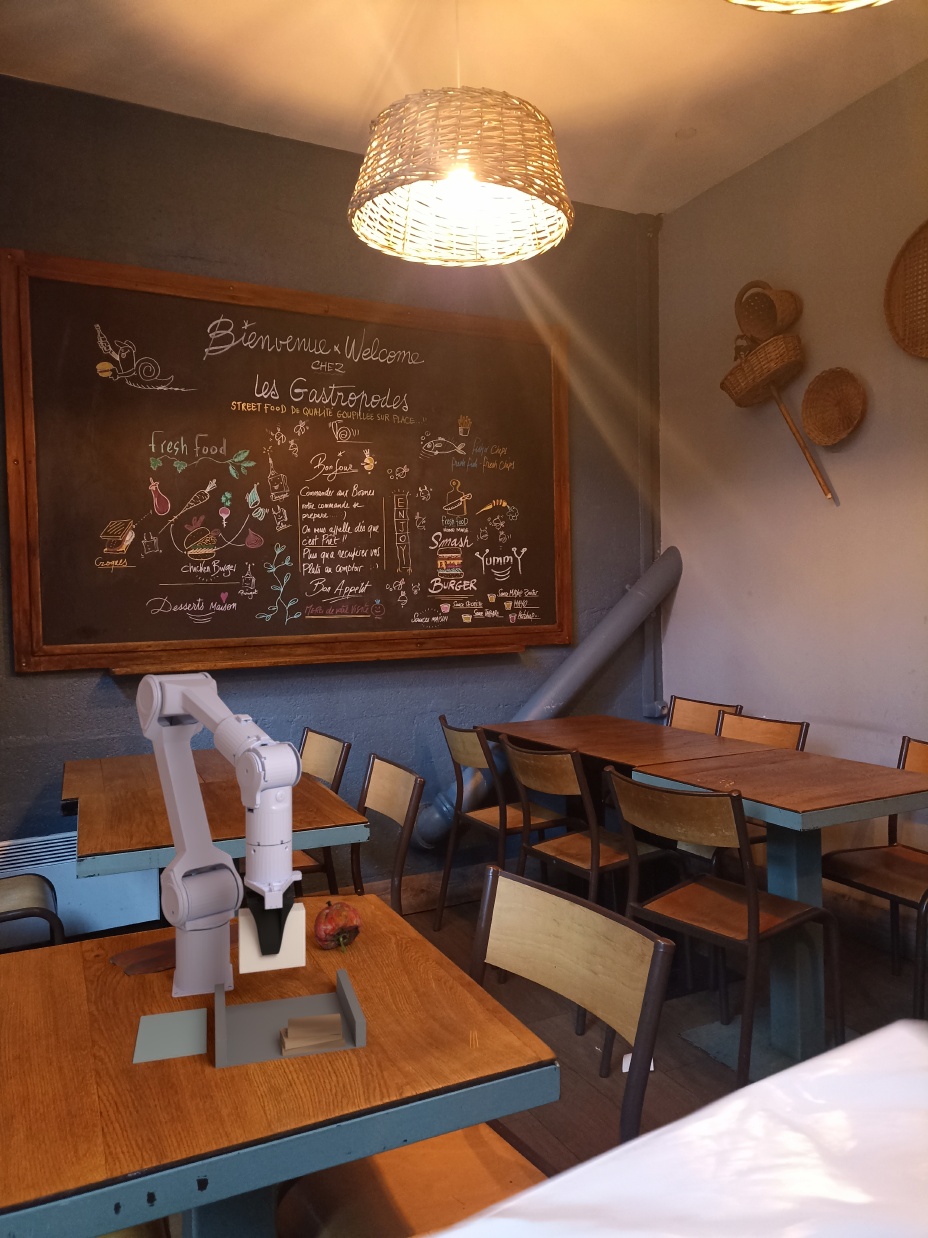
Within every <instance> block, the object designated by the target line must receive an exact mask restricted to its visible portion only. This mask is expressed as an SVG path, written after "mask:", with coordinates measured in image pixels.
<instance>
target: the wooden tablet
mask: <svg viewBox="0 0 928 1238" xmlns="http://www.w3.org/2000/svg"><path fill="white" fill-rule="evenodd" d="M236 948H239V922H238V923H234V924H230V951H231V950H233V949H236ZM109 963H111V964H112V965H114V966H117V967H123V968H122V972H123V973H125V974H126V976H128V977H131V976H138V975H146V974H155V973H159V972H162V971H166V970H169V969H172V968H176V936H175V937H171V938H169V939H164V940H160V941H156V942H152V943H150V944H144V945H141V946H138V947H135V948H131V949H127V950H125V951H122V952H118V953H116V954H114V955H111V957H110V959H109Z"/></svg>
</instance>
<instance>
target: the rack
mask: <svg viewBox="0 0 928 1238" xmlns="http://www.w3.org/2000/svg"><path fill="white" fill-rule="evenodd" d="M335 972H336V977H335V978H336V991H334V992H328V993H318V994H311V995H303V996H296V997H295V996H294V997H289V998H281V999H271V1000H265V1001H264V1000H263V1001H257V1002H250V1003H242V1004H233V1005H226V994H225V993H226V991H225V989H224V983H223V984H215V992H214V1044H215V1045H214V1047H215V1048H214V1049H215V1051H214V1052H215V1055H214V1057H215V1069H223V1068H230V1067H237V1066H242V1065H250V1064H256V1063H262V1062H263V1063H264V1062H270V1061H277V1060H284V1059H290V1058H298V1057H303V1056H304V1057H305V1056H310V1055H318V1054H325V1053H330V1052H331V1053H332V1052H337V1051H344V1050H351V1049H359V1048H364V1047H367V1019H366V1017H365V1014H364V1013H363V1009H362V1006H361V1005H360V1002H359V999H358V997H357V995H356V992H355V990H354V987H353V985H352V982H351V980H350V977H349V974H348V972H347V969H346V968H339V969H336V970H335ZM332 1014H340V1017H341V1024H342V1032H343V1035H344V1038H345V1047H342V1048H335V1049H329V1050H322V1051H315V1052H308V1053H301V1054H294V1055H288V1056H282V1050H281V1044H280V1029H284V1028H288V1019H290V1018H300V1017H311V1016H321V1015H332Z"/></svg>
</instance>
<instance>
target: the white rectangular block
mask: <svg viewBox="0 0 928 1238" xmlns="http://www.w3.org/2000/svg"><path fill="white" fill-rule="evenodd" d="M238 923H239V947H238V971H239V974H249V973H257V972H266V971H273V970H280V969H289V968H298V967H306V908H305V906H304V903H303V902H298V903H297V902H294V904H293V907H292V909H291V910H290V912H289V915H288V917H287V920H286V923H285V927H284V932H283V938H282V944H281V948H280V952H279V954H273V955H264V956H263V955H262V953H261V949H260V945H259V939H258V932H257V927H256V923H255V920H254V917H253V915H252V913H251V911H250V909H249V907H244V908H243V907H242V908H238Z"/></svg>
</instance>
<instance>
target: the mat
mask: <svg viewBox="0 0 928 1238" xmlns="http://www.w3.org/2000/svg"><path fill="white" fill-rule="evenodd" d="M207 1011H208V1009H207V1007H204V1008H196V1009H188V1010H180V1011H174V1012H165V1013H157V1014H149V1015H142V1016H140V1019H139V1024H138V1025H139V1026H138V1030H137V1031H138V1032H137V1035H136V1042H135V1048H134V1053H133V1058H132V1064H139V1063H140V1064H141V1063H145V1062H152V1061H160V1060H168V1059H175V1058H180V1057H181V1058H182V1057H188V1056H196V1055H201V1054H207V1039H208V1037H207V1036H208V1035H207V1031H208V1030H207V1027H208V1026H207V1025H208V1024H207V1022H208V1021H207V1020H208V1018H207V1016H208V1015H207V1014H208V1012H207Z"/></svg>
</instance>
